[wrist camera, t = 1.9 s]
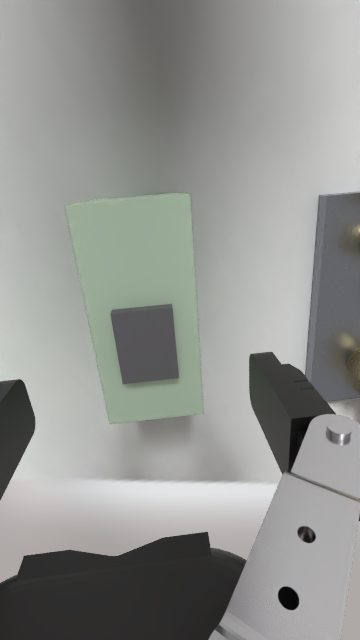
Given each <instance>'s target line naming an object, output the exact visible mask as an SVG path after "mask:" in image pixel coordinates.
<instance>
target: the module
mask: <svg viewBox="0 0 360 640" xmlns="http://www.w3.org/2000/svg"><path fill="white" fill-rule="evenodd" d="M65 210H66V215H67V220H68V225H69V230H70V235H71V239H72V244H73V249H74V254H75V259H76V264H77V269H78V273H79V278H80V283H81V288H82V293H83V298H84V303H85V307H86V312H87V317H88V322H89V327H90V332H91V336H92V341H93V346H94V351H95V356H96V361H97V366H98V370H99V375H100V380H101V385H102V390H103V395H104V399H105V404H106V409H107V414H108V419H109V424H118V423H127V422H136V421H144V420H153V419H162V418H171V417H180V416H188V415H197V414H204V409H203V393H202V377H201V361H200V345H199V329H198V313H197V297H196V281H195V265H194V249H193V233H192V217H191V201H190V194H185V193H180V192H176V193H165V194H153V195H142V196H130V197H119V198H107V199H96V200H89V201H84V202H79V203H74V204H70V205H65Z"/></svg>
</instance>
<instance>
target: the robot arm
mask: <svg viewBox="0 0 360 640" xmlns="http://www.w3.org/2000/svg"><path fill="white" fill-rule="evenodd" d="M249 390H250V400H251V404H252V408H253V410H254V412H255V415H256V417H257V419H258V421H259V423H260V426H261V428H262V430H263V432H264V434H265V437H266V439H267V441H268V443H269V446H270V448H271V450H272V452H273V454H274V457H275V459H276V461H277V463H278V466H279V468H280V470H281V472H282V474H283V475H282V477H281V480H280V482H279V485H278V487H277V490H276V492H275V494H274V497H273V499H272V501H271V504H270V506H269V509H268V511H267V513H266V516H265V518H264V521H263V523H262V526H261V528H260V530H259V533H258V535H257V537H256V540H255V542H254V545H253V547H252V549H251V552H250V554H249V557H248V559H247V560H245V559H243V558H241V557H239V556H237V555H235V554H233V553H230V552H227V551H224V550H220V549H215V548H210V543H209V536H208V532H204V533H196V534H188V535H180V536H173V537H165V538H161V539H159V540H156V541H154V542H152V543H149V544H147V545H144V546H142V547H139V548H137V549H134V550H132V551H129V552H127V553H124V554H122V555H119V556H106V555H100V554H93V553H86V552H80V551H73V550H65V551H58V552H50V553H43V554H35V555H27V556H24V558H23V561H22V564H21V566H20V569H19V572H18V575H15V576H13V577H11V578H9V579H7V580H5V581H3V582H1V583H0V640H341V637H342V630H343V623H344V617H345V610H346V603H347V596H348V590H349V583H350V576H351V569H352V562H353V555H354V549H355V542H356V535H357V528H358V521H360V424H359V423H358V422H356V421H354V420H353V419H350V418H348V417H345V416H341V415H336V413H335V412H334V411H333V410H332V408H331V407H330V406H329V405H328V404H327V402H326V401H325V400H324V399H323V397H322V396H321V395H320V394H319V392H318V391H317V390H316V389H314V386H313V385H312V384H311V383H310V382H308V379H307V378H306V376H305V375H304V374H303V373H302V372H301V371H300V370H299V369H297V368H295V367H293V366H292V365H290V364H283V365H281V363H280V362H279V360H278V359H277V358H276V356H275V355H274V354H273V352H265V353H256V354H251V355H250V359H249ZM34 430H35V416H34V412H33V409H32V406H31V403H30V399H29V396H28V393H27V390H26V387H25V384H24V382H23V381H22V380H20V379H18V380H9V381H0V500H1V498H2V496H3V494H4V492H5V490H6V488H7V486H8V484H9V482H10V480H11V478H12V476H13V474H14V472H15V470H16V468H17V466H18V464H19V462H20V460H21V458H22V456H23V454H24V452H25V450H26V448H27V446H28V444H29V442H30V440H31V438H32V436H33V434H34Z"/></svg>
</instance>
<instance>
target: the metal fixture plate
mask: <svg viewBox="0 0 360 640" xmlns="http://www.w3.org/2000/svg"><path fill="white" fill-rule="evenodd" d="M305 376H306V378H307V379H308V382H310V383H311V384H312V385H313V386H314V389H316V390H317V391H318V392H319V394H320V395H321V396H322V397H323V399H324V400H325V401H334V400H343V399H351V398H360V192H350V193H339V194H328V195H319V207H318V220H317V232H316V245H315V258H314V271H313V284H312V297H311V310H310V323H309V336H308V349H307V361H306V374H305Z"/></svg>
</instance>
